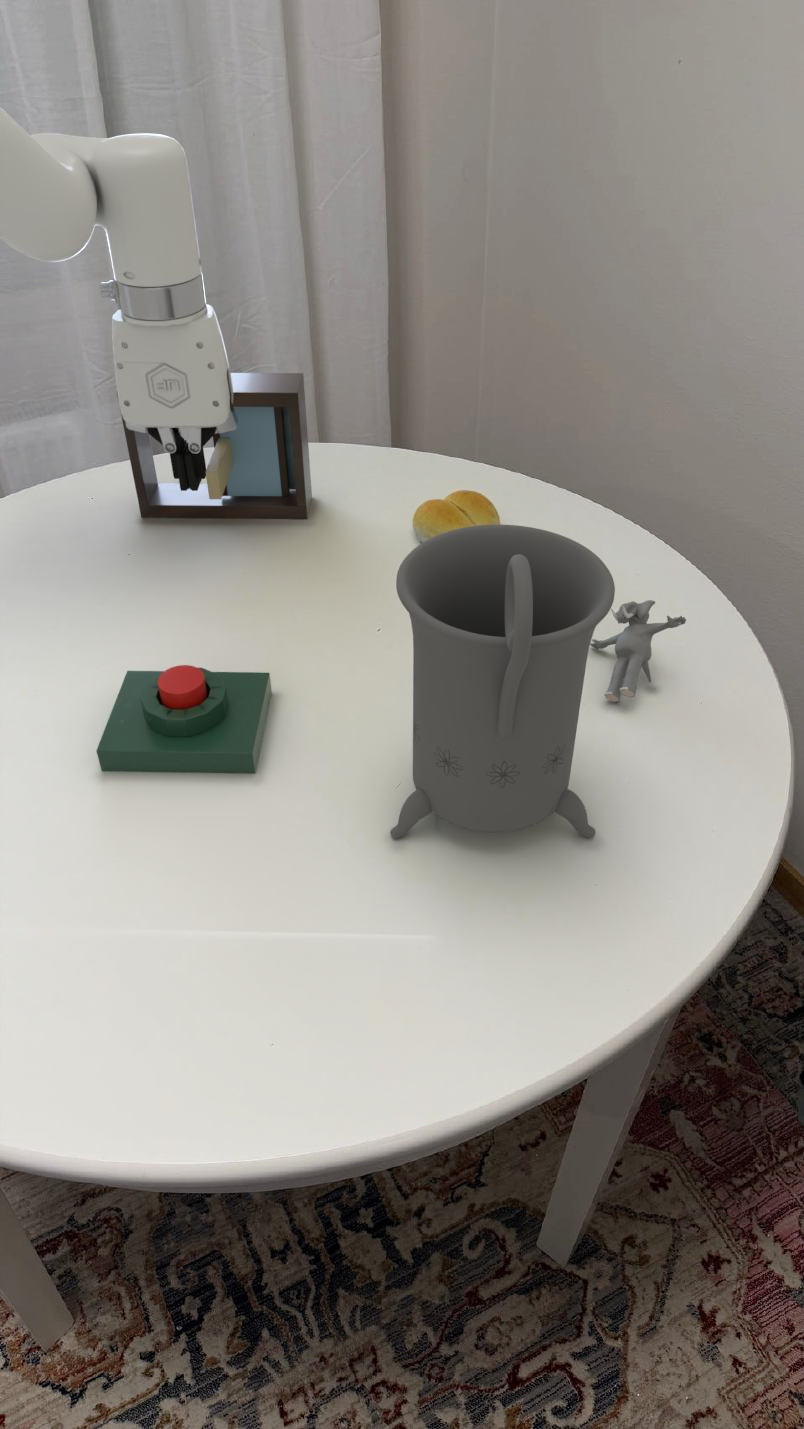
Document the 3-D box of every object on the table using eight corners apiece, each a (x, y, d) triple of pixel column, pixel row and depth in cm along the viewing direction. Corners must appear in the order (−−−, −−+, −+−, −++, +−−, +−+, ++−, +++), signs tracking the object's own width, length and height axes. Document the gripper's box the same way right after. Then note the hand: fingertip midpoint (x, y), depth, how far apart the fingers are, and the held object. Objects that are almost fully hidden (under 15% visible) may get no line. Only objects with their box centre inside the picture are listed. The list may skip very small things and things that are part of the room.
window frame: (141, 517, 108) (116, 391, 99) (151, 495, 112) (128, 372, 103) (307, 519, 108) (297, 392, 99) (312, 496, 112) (303, 373, 103)
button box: (101, 771, 78) (91, 733, 76) (132, 690, 86) (123, 653, 83) (255, 774, 78) (249, 735, 75) (272, 692, 85) (267, 655, 83)
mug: (391, 724, 82) (385, 436, 66) (572, 723, 82) (610, 435, 66) (389, 906, 68) (381, 596, 52) (608, 904, 68) (669, 594, 52)
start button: (156, 710, 78) (152, 693, 77) (166, 681, 81) (162, 664, 80) (202, 711, 78) (199, 693, 77) (210, 682, 81) (207, 665, 80)
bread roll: (399, 528, 106) (398, 493, 104) (470, 506, 110) (471, 473, 107) (440, 563, 101) (441, 528, 98) (513, 540, 104) (516, 505, 102)
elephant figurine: (552, 690, 86) (577, 606, 90) (596, 726, 88) (619, 643, 92) (646, 665, 78) (669, 574, 82) (691, 705, 81) (711, 615, 85)
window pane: (208, 532, 102) (193, 436, 96) (221, 493, 109) (209, 400, 102) (280, 532, 102) (271, 436, 95) (290, 493, 108) (281, 401, 102)
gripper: (66, 310, 86) (108, 502, 98) (239, 310, 86) (260, 503, 98) (89, 282, 92) (126, 467, 104) (251, 282, 92) (270, 467, 104)
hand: (191, 484), depth 101 cm, fingers closed
